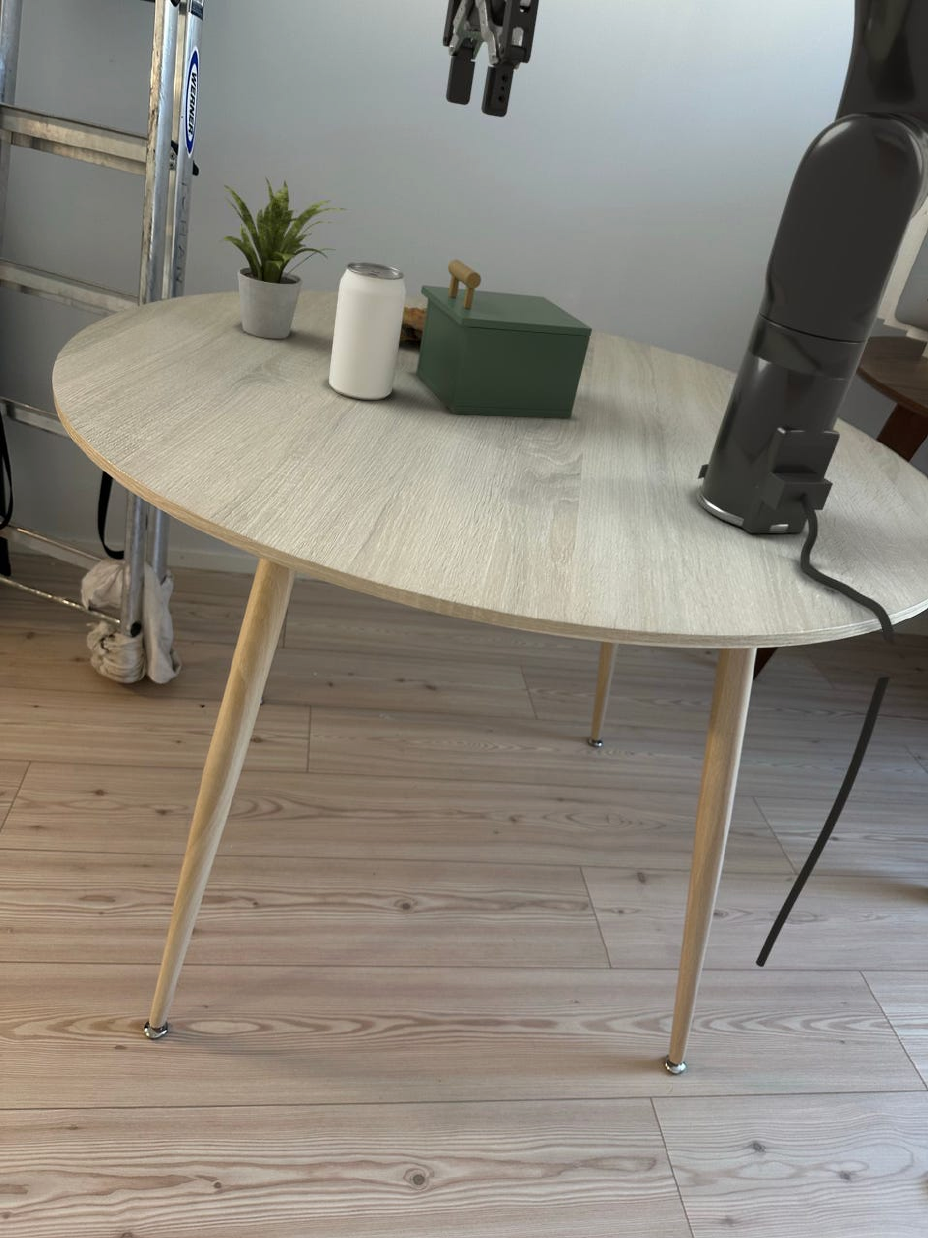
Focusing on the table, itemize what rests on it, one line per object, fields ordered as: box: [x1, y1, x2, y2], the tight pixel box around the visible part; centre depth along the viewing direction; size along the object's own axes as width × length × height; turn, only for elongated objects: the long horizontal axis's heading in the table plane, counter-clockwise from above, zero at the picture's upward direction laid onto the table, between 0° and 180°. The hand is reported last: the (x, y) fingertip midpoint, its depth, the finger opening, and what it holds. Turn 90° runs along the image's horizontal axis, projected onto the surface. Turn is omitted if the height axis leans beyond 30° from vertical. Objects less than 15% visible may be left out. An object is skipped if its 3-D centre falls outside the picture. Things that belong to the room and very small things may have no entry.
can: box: [328, 261, 407, 401], centre depth 98 cm, size 6×6×12 cm
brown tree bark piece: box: [399, 306, 427, 342], centre depth 120 cm, size 11×4×15 cm
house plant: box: [219, 176, 348, 339], centre depth 108 cm, size 14×14×16 cm
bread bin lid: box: [420, 259, 593, 337], centre depth 101 cm, size 14×12×4 cm
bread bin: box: [415, 298, 591, 419], centre depth 105 cm, size 14×12×9 cm
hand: (474, 109), depth 91 cm, fingers open, 8 cm apart
